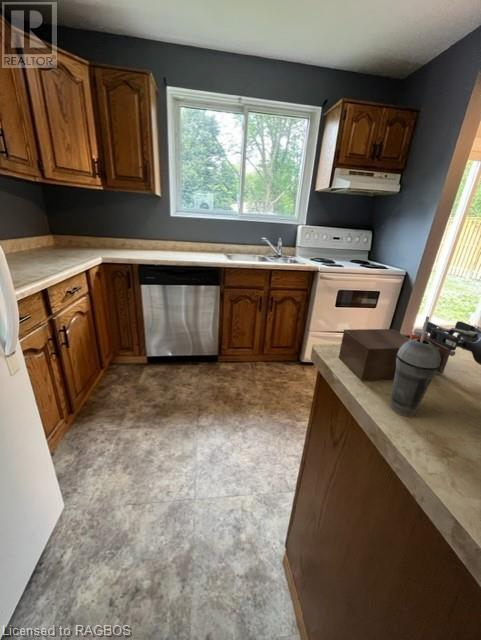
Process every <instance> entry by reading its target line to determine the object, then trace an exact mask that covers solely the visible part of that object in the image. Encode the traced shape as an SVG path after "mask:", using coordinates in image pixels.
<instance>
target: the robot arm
mask: <svg viewBox="0 0 481 640" xmlns="http://www.w3.org/2000/svg"><path fill="white" fill-rule="evenodd" d="M424 324H425V321H424V322H423V325H422V329H423V328H424ZM426 332H428V334H429V338H428V339H430V340H432V341H434V342H436V343H438V344H440V345H442V346H444V347H446V348H448V349H450V350H453V351H456V350H457V348H460V349H462V350H463V351H467V352H470V353H471V355H472V357H473V360H474V361H475V362H476V364H478V365H480V366H481V327H480V326H476V325H475V326H473V325H471V324H468V323H466V322H464V321H461V320H460V321H459V320H458V321H456V323H455V326H454V327H451V328H447V327H442V326H440V325H437V324H435V323H433V322H431V321H428V324H427V328H426ZM455 333H457V335H454V334H455Z"/></svg>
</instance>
